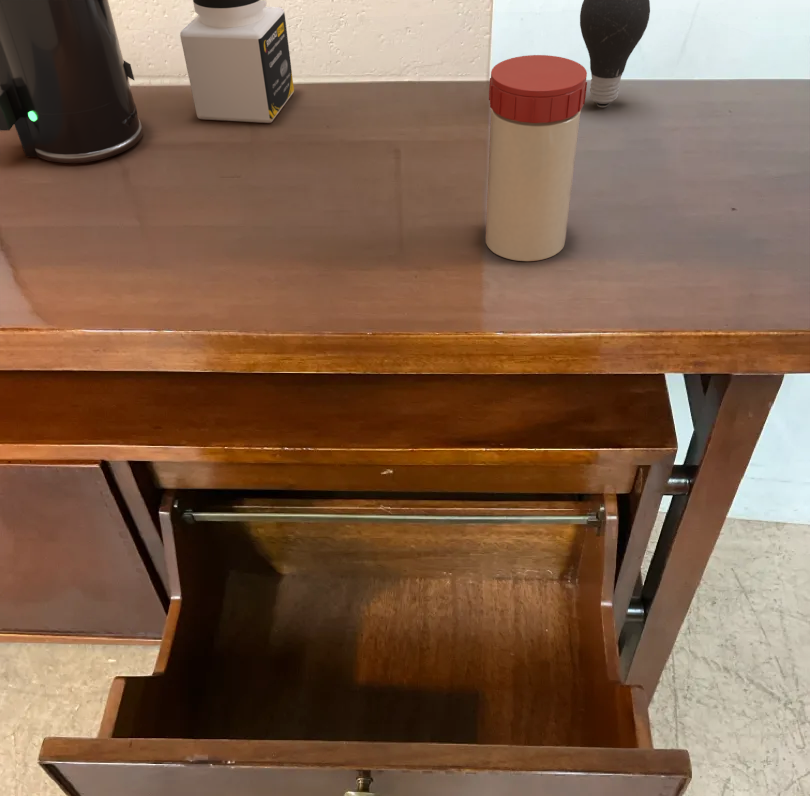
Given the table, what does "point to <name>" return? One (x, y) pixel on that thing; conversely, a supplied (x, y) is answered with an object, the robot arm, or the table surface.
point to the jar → (529, 186)
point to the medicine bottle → (238, 60)
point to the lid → (537, 88)
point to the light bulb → (611, 41)
